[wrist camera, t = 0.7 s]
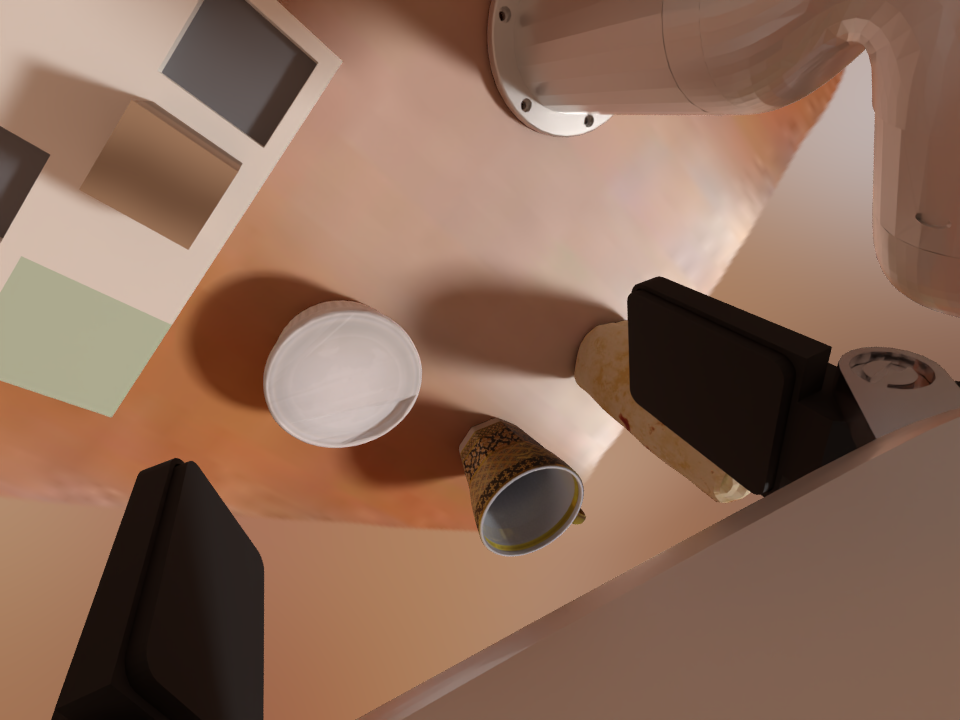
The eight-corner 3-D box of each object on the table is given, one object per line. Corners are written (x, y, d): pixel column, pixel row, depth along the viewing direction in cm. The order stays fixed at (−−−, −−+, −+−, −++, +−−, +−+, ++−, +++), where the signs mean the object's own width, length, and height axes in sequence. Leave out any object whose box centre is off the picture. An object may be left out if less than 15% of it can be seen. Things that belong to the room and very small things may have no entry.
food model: (582, 395, 50) (734, 532, 34) (551, 358, 46) (707, 493, 30) (649, 332, 50) (837, 440, 33) (624, 290, 46) (822, 389, 30)
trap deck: (23, -227, 21) (7, -248, 19) (339, 63, 29) (342, 61, 28) (-229, 286, 25) (-255, 295, 23) (117, 406, 33) (111, 417, 32)
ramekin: (332, 435, 41) (340, 474, 37) (228, 352, 35) (222, 387, 30) (431, 355, 41) (450, 384, 37) (346, 258, 35) (357, 278, 31)
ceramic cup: (424, 471, 47) (457, 548, 38) (477, 389, 45) (524, 452, 36) (518, 497, 54) (563, 567, 45) (567, 428, 52) (624, 487, 43)
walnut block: (153, 101, 26) (131, 99, 22) (242, 163, 29) (238, 171, 24) (108, 177, 27) (78, 189, 22) (199, 230, 29) (188, 249, 25)
